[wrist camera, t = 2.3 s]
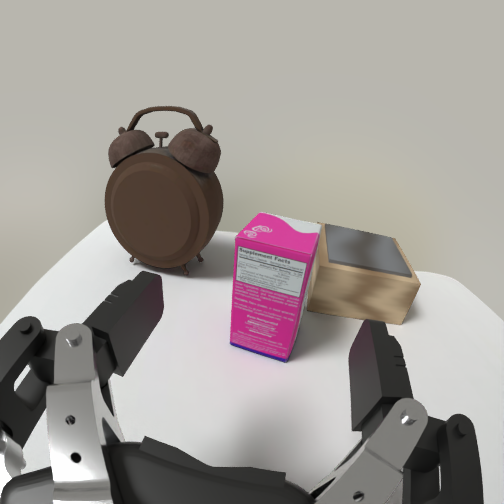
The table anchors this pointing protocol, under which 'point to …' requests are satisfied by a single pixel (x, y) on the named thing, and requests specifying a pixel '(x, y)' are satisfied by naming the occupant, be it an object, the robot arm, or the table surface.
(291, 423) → the table surface
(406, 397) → the robot arm
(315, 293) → the pedestal
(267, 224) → the supplement box
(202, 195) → the alarm clock
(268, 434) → the table surface
